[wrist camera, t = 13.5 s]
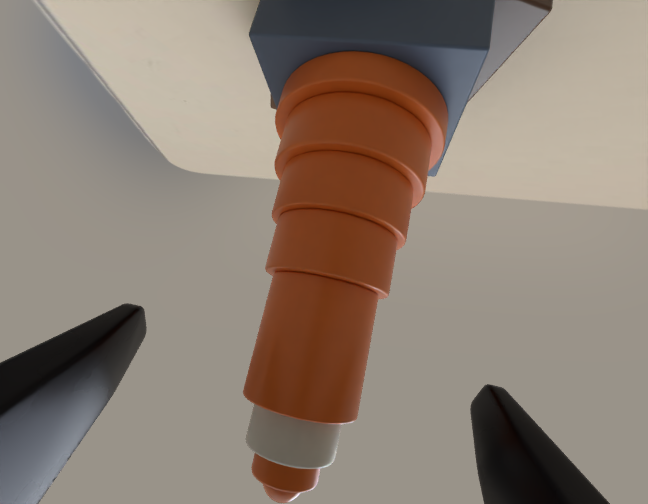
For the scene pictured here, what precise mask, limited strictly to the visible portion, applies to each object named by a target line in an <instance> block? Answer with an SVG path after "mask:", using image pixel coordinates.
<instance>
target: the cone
mask: <svg viewBox="0 0 648 504" xmlns="http://www.w3.org/2000/svg"><path fill="white" fill-rule="evenodd" d="M275 124H276V129H277V132H278V135H279V137H280V139H281V142H280V145H279V149H278V152H277V156H276V159H275V171H276V174H277V176H278V178H279V180H280V185H279V188H278V192H277V196H276V199H275V203H274V207H273V210H272V218H273V220H274V221H275V223H276V224H277V226H276V229H275V233H274V237H273V241H272V244H271V248H270V252H269V255H268V259H267V263H266V267H265V269H266V272H268V273H269V274H270V275H272V276H273V278H272V283H271V286H270V290H269V294H268V297H267V301H266V306H265V310H264V313H263V317H262V321H261V324H260V328H259V332H258V336H257V340H256V344H255V348H254V351H253V356H252V359H251V363H250V367H249V371H248V375H247V378H246V382H245V386H244V390H243V394H244V396H245V397H246V398H247V399H248V400H249V401H251V402H252V403H254V407H253V412H252V415H251V419H250V423H249V427H248V431H247V435H246V443H247V445H248V446H249V448H250V449H251V450H252V451H254V452H255V455H254V459H253V463H252V473H253V475H254V476H255V477H256V479H257V480H259V481H260V482H261V483H263V486H264V489H265V492H266V493H267V495H268V496H269V497H270V498H271V499H272V500H274V501H276V502H278V503H287V502H290V501H292V500H293V499H295V498H296V497H297V496H298V495H299V494H300V493H302V492H307V491H310V490H312V489H313V488H314V487H315V486H316V485H317V483H318V478H319V472H320V468H324V467H327V466H329V465H331V464H332V463H333V461H334V460H335V456H336V451H337V446H338V440H339V434H340V429H341V424H347V423H352V422H354V421H355V420H356V419H357V415H358V410H359V404H360V399H361V393H362V387H363V382H364V376H365V370H366V365H367V359H368V353H369V348H370V342H371V335H372V330H373V325H374V319H375V313H376V308H377V302H378V299H384V298H387V297H388V295H389V291H390V285H391V279H392V273H393V267H394V261H395V255H396V250H398V249H400V248H402V247H403V246H404V244H405V242H406V238H407V231H408V226H409V219H410V213H411V209H412V208H414V207H415V206H416V205H417V204H419V202H420V201H421V200H422V198H423V197H424V194H425V189H426V182H427V176H428V171H429V170H430V169H431V168H432V167H433V166H434V165H435V164H436V163H437V162H438V160H439V159H440V158H441V156H442V153H443V151H444V147H445V141H446V134H447V127H448V111H447V106H446V103H445V101H444V99H443V96H442V95H441V93H440V92H439V90H438V89H437V87H436V86H435V85H434V84H433V83H432V82H431V81H430V80H429V79H428V78H427V77H426V76H425V75H423V74H422V73H421V72H420V71H418V70H416V69H415V68H413V67H412V66H410V65H408V64H406V63H404V62H402V61H399V60H397V59H394V58H391V57H388V56H385V55H381V54H376V53H371V52H361V51H342V52H335V53H329V54H326V55H322V56H319V57H316V58H314V59H312V60H309V61H307V62H306V63H304V64H303V65H301V66H300V67H299V68H298V69H296V70H295V71H294V72H293V73H292V74H291V76H290V77H289V78H288V80H287V81H286V83H285V85H284V88H283V91H282V94H281V97H280V101H279V104H278V108H277V111H276V116H275Z"/></svg>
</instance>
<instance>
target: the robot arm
mask: <svg viewBox="0 0 648 504" xmlns="http://www.w3.org/2000/svg"><path fill="white" fill-rule="evenodd" d="M145 334H146V320H145V312H144V309H143V308H142V307H141V306H137V305H133V304H123V305H121V306H119V307H116V308H114V309H112V310H110V311H108V312H106V313H104V314H102V315H100V316H98V317H96V318H93V319H91V320H89V321H87V322H85V323H83V324H81V325H79V326H77V327H75V328H72V329H70V330H68V331H66V332H64V333H62V334H60V335H58V336H56V337H53V338H51V339H49V340H47V341H45V342H43V343H41V344H39V345H37V346H35V347H33V348H30V349H28V350H26V351H24V352H22V353H20V354H18V355H16V356H14V357H11V358H9V359H7V360H5V361H3V362H1V363H0V504H38V503H39V502H40V500H41V499H42V497H43V496H44V494H45V493H46V491H47V490H48V489H49V487H50V485H51V484H52V483H53V481H54V480H55V478H56V477H57V475H58V474H59V473H60V471H61V470H62V468H63V467H64V465H65V464H66V462H67V461H68V459H69V458H70V457H71V455H72V454H73V452H74V451H75V449H76V448H77V447H78V445H79V444H80V442H81V441H82V439H83V438H84V436H85V435H86V433H87V432H88V431H89V429H90V427H91V426H92V425H93V423H94V422H95V420H96V419H97V417H98V416H99V415H100V413H101V411H102V410H103V409H104V407H105V406H106V404H107V403H108V401H109V400H110V398H111V397H112V395H113V394H114V392H115V390H116V388H117V387H118V385H119V383H120V381H121V380H122V378H123V376H124V374H125V372H126V370H127V369H128V367H129V365H130V363H131V361H132V359H133V358H134V356H135V354H136V352H137V350H138V349H139V347H140V345H141V343H142V341H143V339H144V337H145ZM471 420H472V429H473V437H474V445H475V454H476V463H477V469H478V476H479V481H480V486H481V490H482V495H483V500H484V504H610V503H609V502H608V501H607V500H606V499H605V498H604V497H603V496H602V495H601V493H600V492H598V490H597V489H596V488H595V487H594V486H593V485H592V484H591V483H590V482H589V480H588V479H587V478H586V477H585V476H584V475H583V474H582V473H581V472H580V471H579V470H578V469H577V467H576V466H575V465H574V464H573V463H572V462H571V461H570V460H569V459H568V457H567V456H566V455H565V454H564V453H563V452H562V451H561V450H560V449H559V448H558V447H557V445H556V444H554V442H553V441H552V440H551V439H550V438H549V437H548V436H547V435H546V434H545V433H544V431H543V430H542V429H541V428H540V427H539V426H538V425H537V424H536V423H535V421H534V420H533V419H532V418H531V417H530V416H529V415H528V414H527V413H526V412H525V411H524V410H523V408H522V407H521V406H520V405H519V404H518V403H517V402H516V401H515V400H514V399H513V398H512V396H510V395H509V393H508V392H507V391H506V390H505V389H504V388H502V387H498V386H494V385H489V384H487V385H485V386H484V387H483V388H482V389H481V391H480V392H479V393H478V395H477V396H476V397H475V398H474V400H473V401H472V404H471Z"/></svg>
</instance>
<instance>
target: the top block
mask: <svg viewBox="0 0 648 504" xmlns="http://www.w3.org/2000/svg"><path fill="white" fill-rule="evenodd" d="M494 7H495V0H260V2H259V5H258V8H257V11H256V14H255V17H254V20H253V23H252V26H251V29H250V32H249V37H250V39H251V42H252V45H253V47H254V50H255V53H256V55H257V58H258V60H259V63H260V66H261V68H262V71H263V74H264V76H265V79H266V81H267V84H268V87H269V89H270V92H271V95H272V97H273V100H274V103H275V105H276V108H278V104H279V101H280V97H281V94H282V91H283V88H284V85H285V83H286V81H287V80H288V78H289V77H290V76H291V74H292V73H293V72H294V71H295V70H296V69H298V68H299V67H300V66H301V65H303V64H304V63H306V62H307V61H309V60H312V59H314V58H316V57H319V56H322V55H326V54H329V53H335V52H342V51H361V52H371V53H376V54H381V55H385V56H388V57H391V58H394V59H397V60H399V61H402V62H404V63H406V64H408V65H410V66H412V67H413V68H415V69H416V70H418V71H420V72H421V73H422V74H423V75H425V76H426V77H427V78H428V79H429V80H430V81H431V82H432V83H433V84H434V85H435V86H436V87H437V89H438V90H439V92H440V93H441V95H442V96H443V99H444V101H445V103H446V106H447V111H448V127H447V134H446V141H445V147H444V151H443V153H442V156H441V158H440V159H439V160H438V162H437V163H436V164H435V165H434V166H433V167H432V168H431V169H430V170H429V171H428V176H436V174H437V172H438V169H439V167H440V165H441V162H442V160H443V158H444V155H445V153H446V151H447V148H448V146H449V144H450V141H451V139H452V136H453V134H454V132H455V129H456V127H457V125H458V122H459V120H460V118H461V115H462V113H463V111H464V108H465V106H466V104H467V101H468V99H469V97H470V94H471V92H472V89H473V87H474V85H475V82H476V80H477V78H478V75H479V73H480V71H481V68H482V66H483V64H484V61H485V59H486V57H487V54H488V52H489V50H490V42H491V33H492V24H493V15H494Z"/></svg>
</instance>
